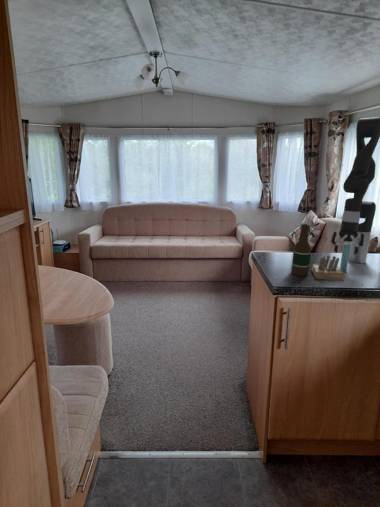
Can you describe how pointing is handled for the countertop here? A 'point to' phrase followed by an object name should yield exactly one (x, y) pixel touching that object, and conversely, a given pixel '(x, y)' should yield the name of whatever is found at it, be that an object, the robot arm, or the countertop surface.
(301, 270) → the beer bottle
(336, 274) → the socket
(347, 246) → the peg
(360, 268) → the countertop surface
